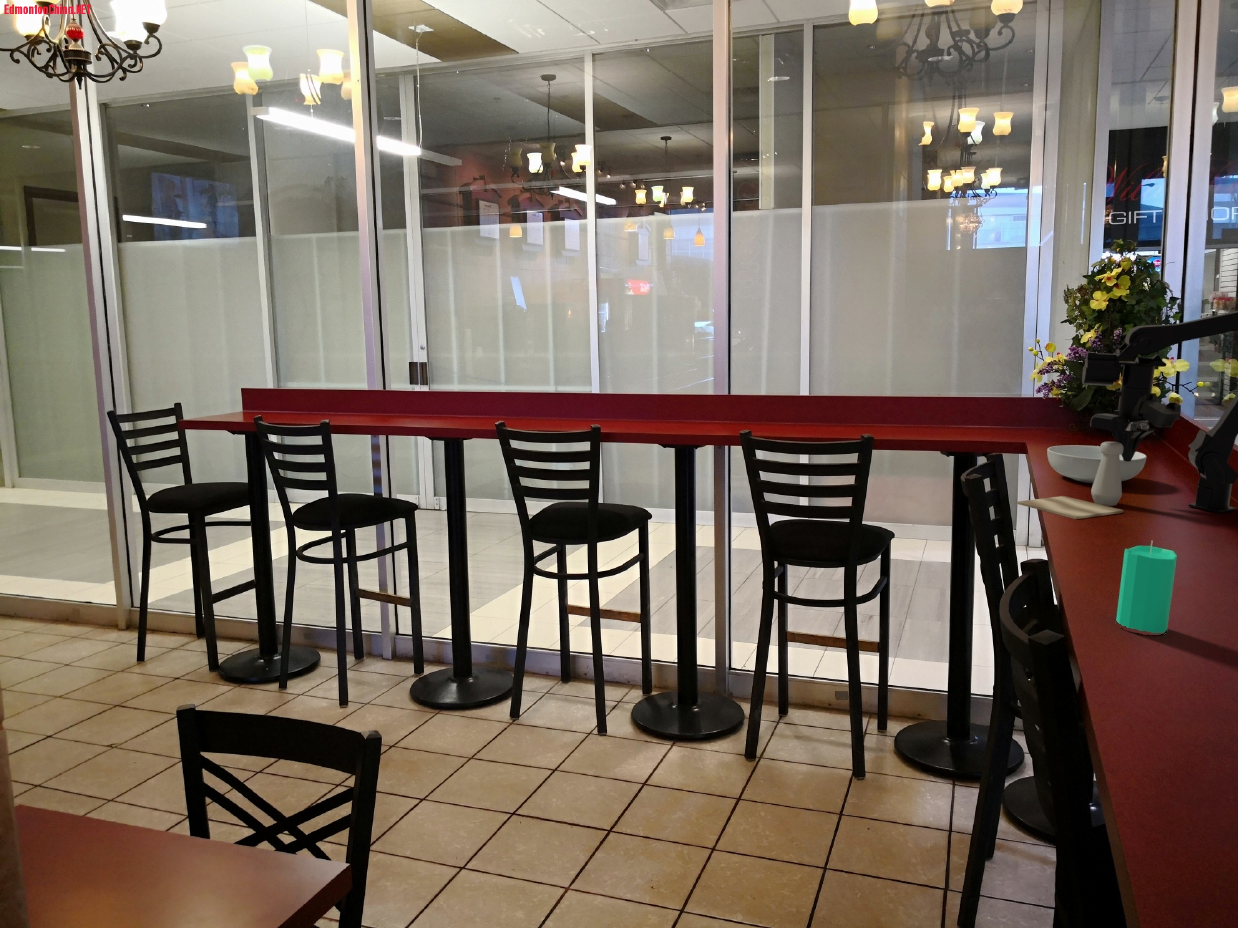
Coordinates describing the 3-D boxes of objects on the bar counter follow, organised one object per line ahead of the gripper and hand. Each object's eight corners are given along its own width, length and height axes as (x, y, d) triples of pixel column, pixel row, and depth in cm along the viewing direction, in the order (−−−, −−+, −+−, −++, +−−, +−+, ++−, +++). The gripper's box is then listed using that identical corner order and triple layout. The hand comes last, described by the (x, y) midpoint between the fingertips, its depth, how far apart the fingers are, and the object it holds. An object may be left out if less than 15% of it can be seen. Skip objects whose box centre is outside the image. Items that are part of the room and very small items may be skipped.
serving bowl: (1121, 473, 236) (1124, 445, 234) (1159, 491, 215) (1163, 461, 214) (1032, 470, 238) (1035, 442, 236) (1062, 488, 217) (1065, 458, 216)
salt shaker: (1103, 507, 198) (1110, 445, 196) (1083, 501, 204) (1090, 440, 201) (1126, 506, 200) (1134, 444, 197) (1106, 500, 205) (1113, 439, 203)
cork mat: (1063, 498, 206) (1063, 495, 206) (1123, 512, 194) (1123, 510, 194) (1017, 503, 200) (1017, 501, 200) (1075, 519, 187) (1076, 516, 187)
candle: (1150, 620, 131) (1161, 534, 129) (1176, 636, 125) (1188, 546, 123) (1106, 619, 131) (1117, 534, 128) (1131, 635, 125) (1142, 546, 123)
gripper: (1142, 393, 189) (1132, 471, 191) (1202, 390, 197) (1192, 465, 200) (1092, 386, 198) (1084, 461, 201) (1152, 384, 207) (1142, 456, 209)
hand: (1127, 461), depth 203 cm, fingers closed
